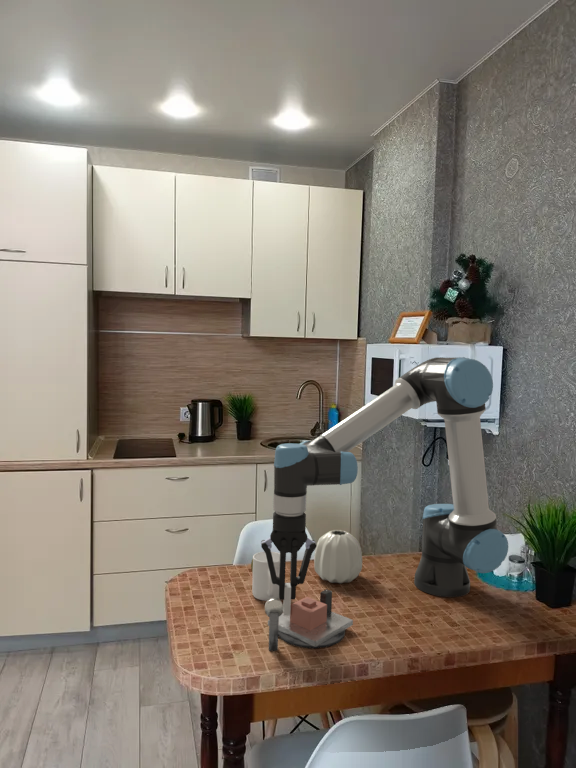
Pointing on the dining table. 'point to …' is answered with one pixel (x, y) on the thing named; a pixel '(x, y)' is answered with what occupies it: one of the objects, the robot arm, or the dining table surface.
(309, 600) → the cover
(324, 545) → the vase
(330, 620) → the turntable
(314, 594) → the dining table surface
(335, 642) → the turntable base
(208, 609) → the dining table surface
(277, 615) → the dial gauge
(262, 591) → the mug
